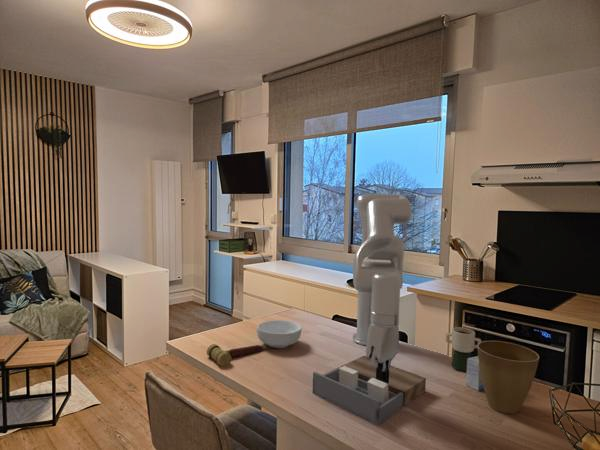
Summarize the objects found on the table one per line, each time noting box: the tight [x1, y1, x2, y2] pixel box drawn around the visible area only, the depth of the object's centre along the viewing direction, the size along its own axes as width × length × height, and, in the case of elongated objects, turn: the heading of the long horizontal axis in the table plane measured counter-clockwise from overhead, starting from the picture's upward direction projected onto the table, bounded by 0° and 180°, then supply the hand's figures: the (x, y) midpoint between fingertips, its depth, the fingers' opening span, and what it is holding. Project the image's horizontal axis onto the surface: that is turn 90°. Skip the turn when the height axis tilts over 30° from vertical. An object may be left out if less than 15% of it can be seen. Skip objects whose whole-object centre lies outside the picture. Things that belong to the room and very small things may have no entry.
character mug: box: [445, 326, 482, 371], centre depth 130 cm, size 11×7×13 cm, turn 60°
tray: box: [312, 366, 404, 426], centre depth 108 cm, size 12×22×6 cm, turn 46°
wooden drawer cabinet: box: [340, 355, 427, 407], centre depth 117 cm, size 12×22×4 cm, turn 46°
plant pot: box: [476, 340, 540, 415], centre depth 106 cm, size 15×15×16 cm
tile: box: [367, 378, 389, 404], centre depth 106 cm, size 5×5×2 cm
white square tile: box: [339, 365, 358, 389], centre depth 114 cm, size 5×5×2 cm
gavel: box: [206, 343, 267, 367], centre depth 137 cm, size 21×5×10 cm
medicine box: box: [465, 355, 484, 392], centre depth 118 cm, size 8×4×9 cm, turn 118°
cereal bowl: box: [256, 319, 302, 349], centre depth 148 cm, size 17×17×7 cm
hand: (382, 382), depth 108 cm, fingers closed
